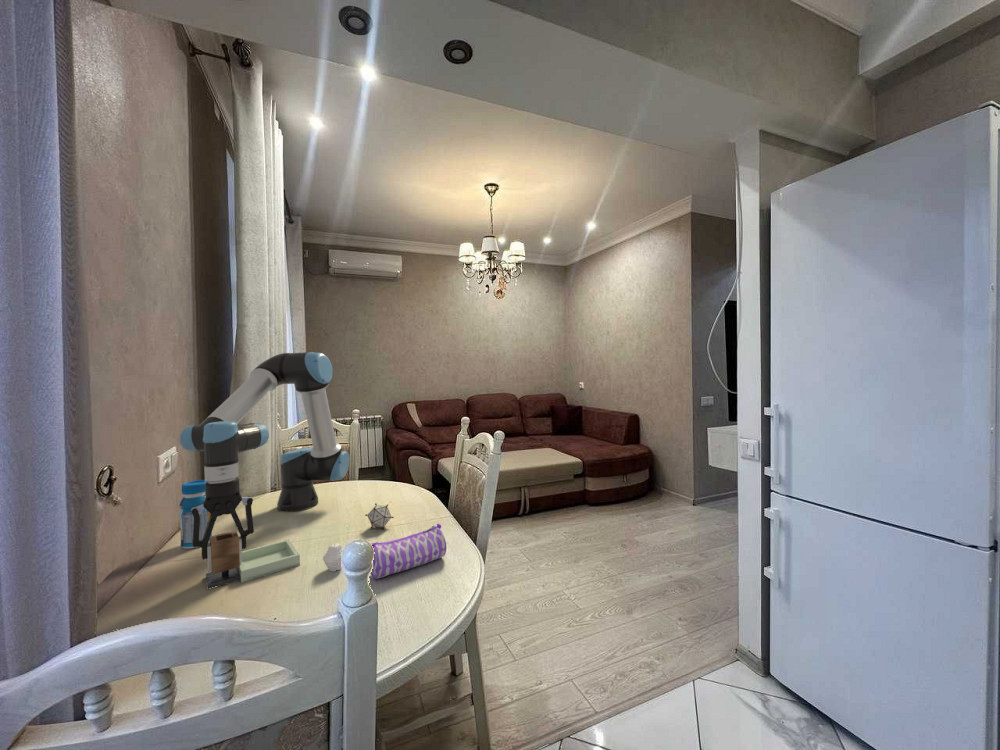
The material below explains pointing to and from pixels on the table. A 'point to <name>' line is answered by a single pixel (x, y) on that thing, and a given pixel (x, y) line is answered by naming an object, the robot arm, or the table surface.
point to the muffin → (333, 557)
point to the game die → (379, 516)
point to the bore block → (224, 552)
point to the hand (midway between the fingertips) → (225, 565)
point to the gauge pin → (222, 577)
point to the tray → (268, 560)
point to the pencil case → (408, 552)
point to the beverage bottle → (192, 498)
